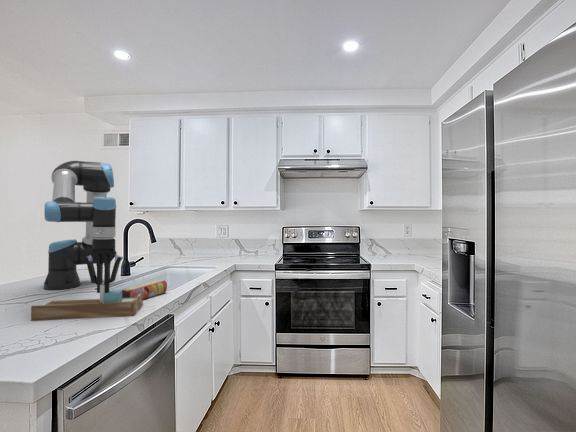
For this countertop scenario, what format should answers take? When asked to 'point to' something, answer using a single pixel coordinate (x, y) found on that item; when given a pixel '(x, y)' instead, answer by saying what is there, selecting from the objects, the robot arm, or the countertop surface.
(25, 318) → the countertop surface
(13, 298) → the countertop surface
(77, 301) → the trap board
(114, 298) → the teal block
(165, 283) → the snack package
